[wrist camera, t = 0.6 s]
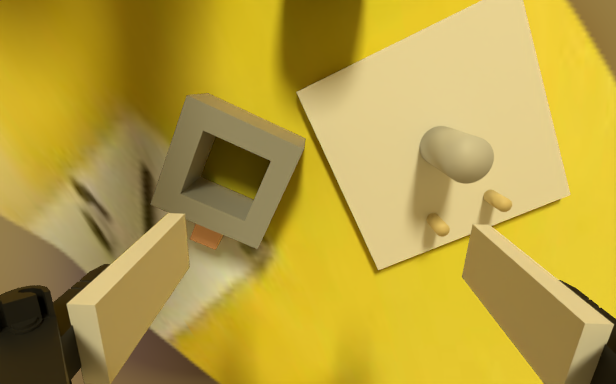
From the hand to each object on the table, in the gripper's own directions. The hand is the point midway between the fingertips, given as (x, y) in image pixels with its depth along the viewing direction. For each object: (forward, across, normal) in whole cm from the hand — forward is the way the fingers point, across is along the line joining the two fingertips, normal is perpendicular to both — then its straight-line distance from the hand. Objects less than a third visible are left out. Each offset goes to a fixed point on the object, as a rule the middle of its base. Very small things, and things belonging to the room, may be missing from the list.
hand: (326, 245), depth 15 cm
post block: (+22, +12, +2) cm, 25 cm away
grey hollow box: (+22, -9, -3) cm, 24 cm away
